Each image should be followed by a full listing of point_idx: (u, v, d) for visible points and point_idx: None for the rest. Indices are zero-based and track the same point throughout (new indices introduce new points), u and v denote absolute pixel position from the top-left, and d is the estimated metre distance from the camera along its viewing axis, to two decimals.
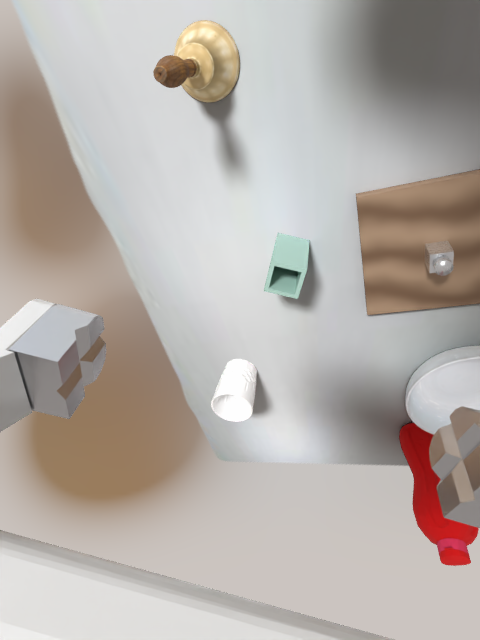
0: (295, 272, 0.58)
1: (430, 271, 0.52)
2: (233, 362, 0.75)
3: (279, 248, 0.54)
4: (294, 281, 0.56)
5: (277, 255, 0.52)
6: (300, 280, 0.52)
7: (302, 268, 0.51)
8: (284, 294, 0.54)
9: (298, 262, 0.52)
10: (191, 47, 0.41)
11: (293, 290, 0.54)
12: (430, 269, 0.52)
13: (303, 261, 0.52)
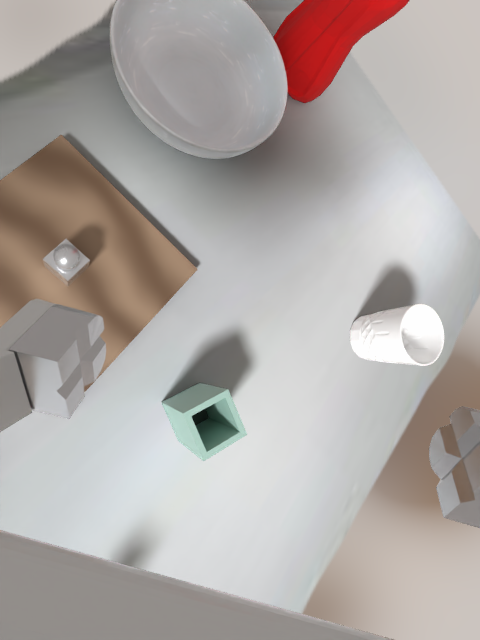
0: None
1: (86, 261, 0.36)
2: (363, 356, 0.55)
3: (188, 444, 0.39)
4: None
5: (194, 449, 0.37)
6: (202, 408, 0.36)
7: (186, 419, 0.35)
8: (233, 408, 0.37)
9: (184, 423, 0.36)
10: None
11: (222, 398, 0.38)
12: (84, 263, 0.36)
13: (179, 416, 0.37)
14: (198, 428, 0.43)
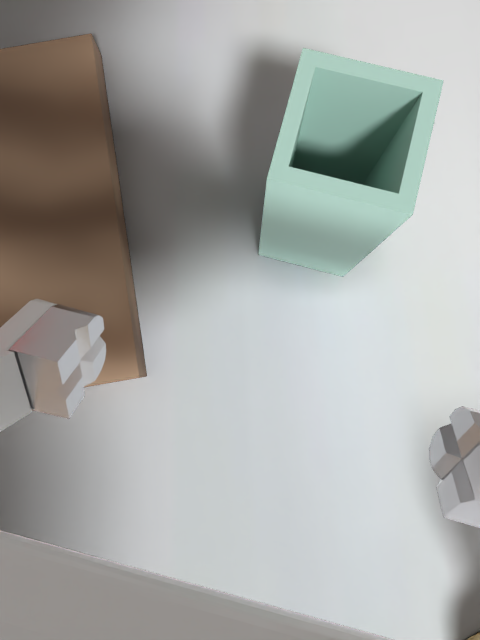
0: (298, 162, 0.19)
1: None
2: None
3: (354, 247, 0.17)
4: (306, 130, 0.17)
5: (373, 230, 0.14)
6: (292, 130, 0.13)
7: (285, 181, 0.13)
8: (356, 66, 0.13)
9: (297, 204, 0.14)
10: None
11: (316, 89, 0.14)
12: None
13: (279, 207, 0.15)
14: None
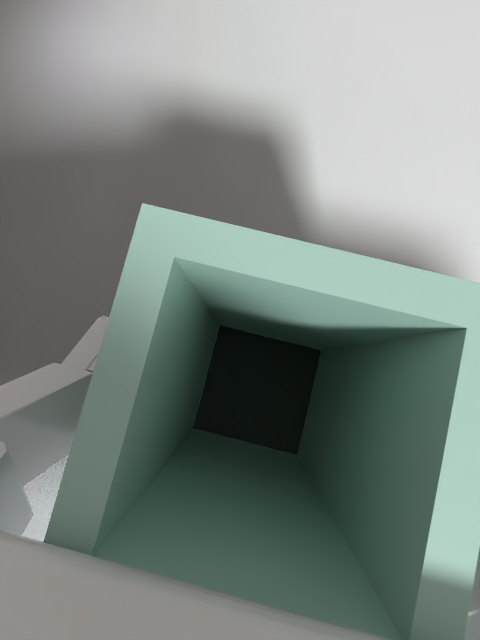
0: (222, 318, 0.11)
1: None
2: None
3: None
4: (214, 304, 0.08)
5: None
6: (106, 448, 0.05)
7: None
8: (285, 256, 0.05)
9: None
10: None
11: (201, 279, 0.06)
12: None
13: None
14: (316, 410, 0.12)
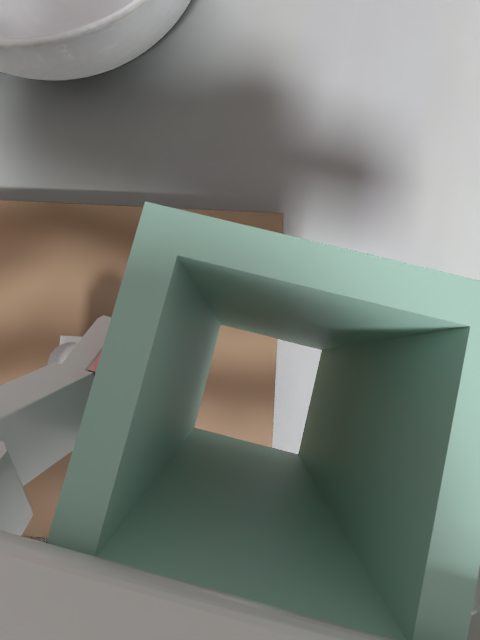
0: (224, 317, 0.11)
1: None
2: None
3: None
4: (216, 303, 0.08)
5: None
6: (109, 447, 0.05)
7: None
8: (288, 254, 0.05)
9: None
10: None
11: (203, 277, 0.06)
12: None
13: None
14: (318, 409, 0.12)
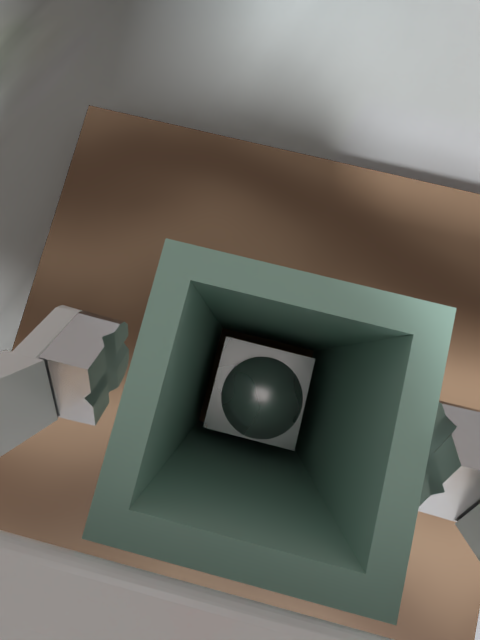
0: (225, 322, 0.12)
1: (309, 366, 0.12)
2: None
3: None
4: (219, 311, 0.10)
5: None
6: (139, 426, 0.06)
7: (122, 546, 0.06)
8: (275, 279, 0.06)
9: None
10: None
11: (209, 294, 0.07)
12: (307, 376, 0.12)
13: None
14: (309, 404, 0.13)
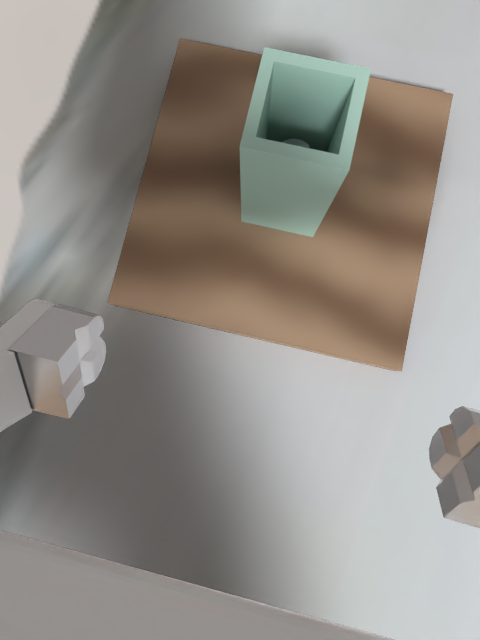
0: None
1: None
2: None
3: (315, 205, 0.21)
4: (273, 112, 0.21)
5: (325, 186, 0.19)
6: (258, 110, 0.17)
7: (253, 148, 0.17)
8: (305, 60, 0.17)
9: (265, 167, 0.18)
10: None
11: (277, 79, 0.18)
12: None
13: (252, 171, 0.19)
14: None
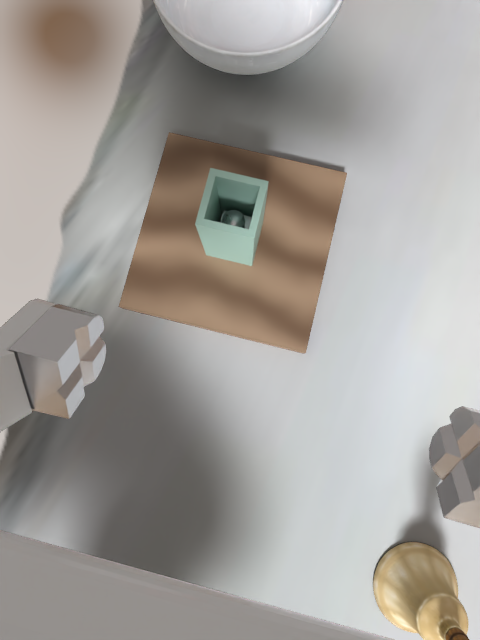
0: (223, 207, 0.37)
1: (250, 219, 0.37)
2: None
3: (245, 250, 0.35)
4: (221, 195, 0.35)
5: (246, 243, 0.32)
6: (205, 203, 0.31)
7: (202, 225, 0.31)
8: (232, 175, 0.31)
9: (211, 233, 0.32)
10: None
11: (219, 182, 0.32)
12: (249, 222, 0.37)
13: (204, 233, 0.33)
14: None
